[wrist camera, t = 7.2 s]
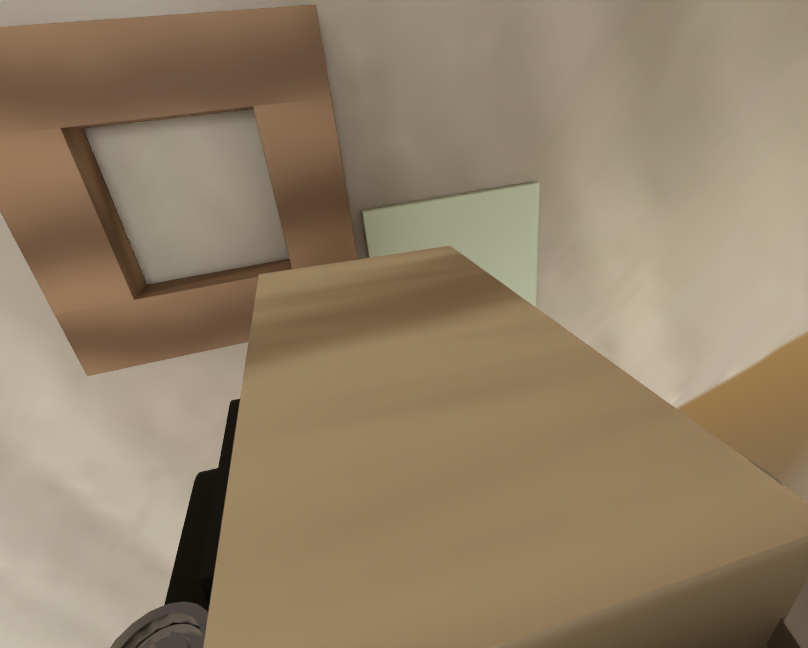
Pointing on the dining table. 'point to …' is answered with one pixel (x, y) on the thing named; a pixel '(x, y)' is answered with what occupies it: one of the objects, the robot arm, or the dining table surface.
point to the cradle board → (152, 100)
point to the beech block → (477, 482)
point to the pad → (467, 231)
